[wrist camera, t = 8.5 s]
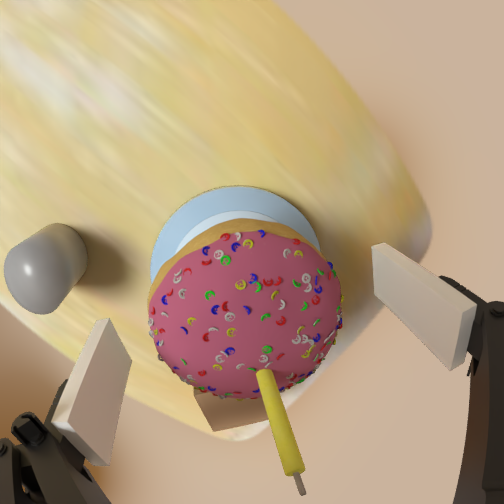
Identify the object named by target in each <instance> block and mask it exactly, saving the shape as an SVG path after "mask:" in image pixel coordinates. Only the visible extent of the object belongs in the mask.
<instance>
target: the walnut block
mask: <svg viewBox="0 0 504 504" xmlns="http://www.w3.org/2000/svg"><path fill="white" fill-rule="evenodd" d="M197 389H198V388H197ZM202 391H204V390H202ZM215 395H217V394H215ZM194 397H195V399H196V401H197V403H198V404H199V406H200V408H201V410H202V412H203V414H204V416H205V417H206V419H207V421H208V423H209V425H210V426H211V428H212V430H213V432H214V431H220V430H225V429H230V428H235V427H239V426H244V425H248V424H253V423H257V422H261V421H265V420H269V419H268V415H267V412H266V409H265V405H264V402H263V398H262V397H258V398H256V399H251V398H249V399H246V398H245V399H244V400H242V401H237V400H236V398H229V397H227V398H225V399H221V398H220V397H219V396H214V395H212V393H211V392H208V391H207V392H206V393H203V392H201V391H200V390H196V389H194ZM239 400H241V399H239Z"/></svg>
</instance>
